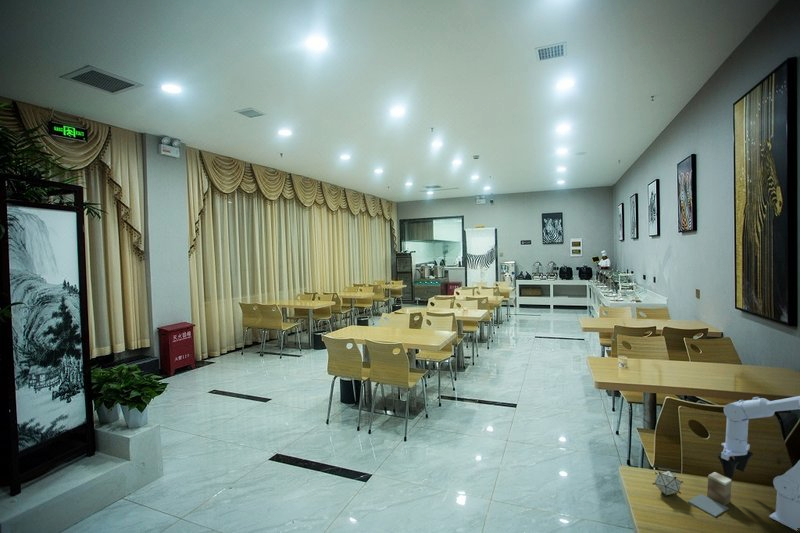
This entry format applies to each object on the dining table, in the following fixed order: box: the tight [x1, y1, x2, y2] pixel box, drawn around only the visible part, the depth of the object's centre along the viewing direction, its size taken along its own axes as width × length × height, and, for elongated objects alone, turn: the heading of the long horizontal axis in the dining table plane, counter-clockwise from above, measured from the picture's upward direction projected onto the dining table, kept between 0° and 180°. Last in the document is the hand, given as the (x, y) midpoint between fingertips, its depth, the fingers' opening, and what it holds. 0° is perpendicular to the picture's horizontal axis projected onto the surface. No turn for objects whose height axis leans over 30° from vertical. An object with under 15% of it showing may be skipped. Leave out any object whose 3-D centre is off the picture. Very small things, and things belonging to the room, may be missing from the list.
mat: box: [688, 493, 729, 518], centre depth 134 cm, size 8×8×1 cm
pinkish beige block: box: [706, 471, 732, 506], centre depth 137 cm, size 5×4×8 cm
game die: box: [651, 467, 684, 499], centre depth 140 cm, size 9×8×10 cm
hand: (734, 473), depth 141 cm, fingers open, 7 cm apart
